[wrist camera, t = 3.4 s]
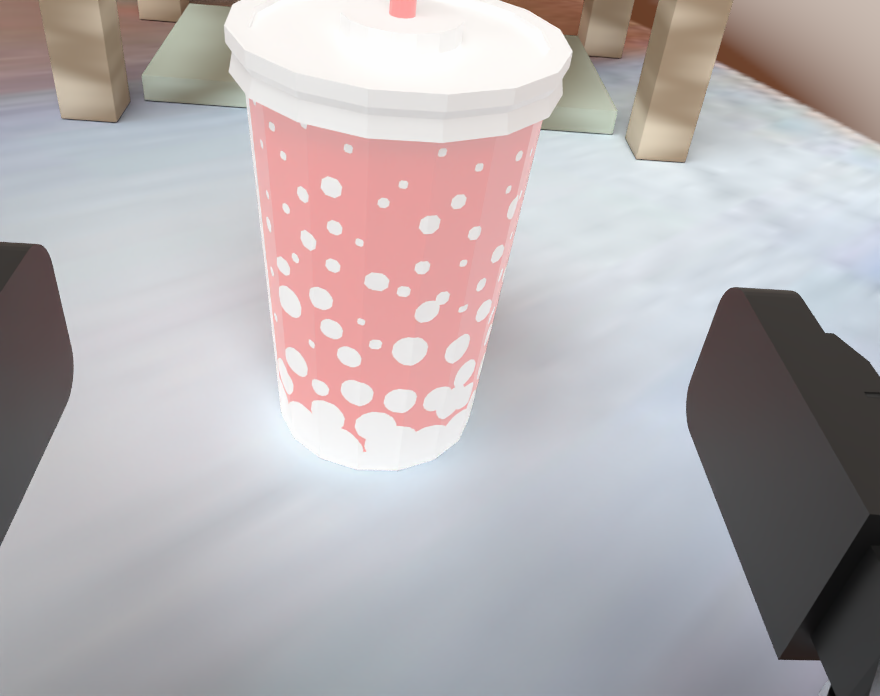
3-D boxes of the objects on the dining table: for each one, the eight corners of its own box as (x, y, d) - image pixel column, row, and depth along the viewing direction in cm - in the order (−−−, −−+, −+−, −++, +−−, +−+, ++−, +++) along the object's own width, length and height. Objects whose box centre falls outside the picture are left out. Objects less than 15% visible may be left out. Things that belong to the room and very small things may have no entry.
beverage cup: (537, 477, 19) (729, -306, 10) (262, 516, 17) (213, -378, 9) (460, 318, 23) (548, -317, 15) (237, 337, 22) (189, -364, 13)
